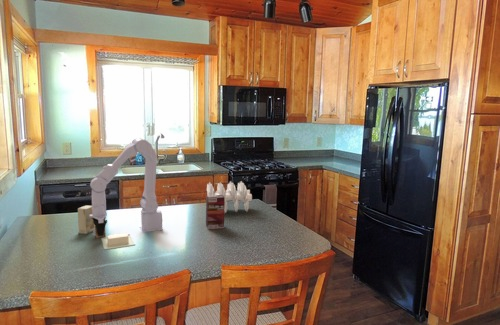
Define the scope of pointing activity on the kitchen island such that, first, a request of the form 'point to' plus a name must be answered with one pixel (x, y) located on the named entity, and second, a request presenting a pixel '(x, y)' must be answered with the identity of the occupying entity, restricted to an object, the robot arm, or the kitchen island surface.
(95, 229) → the walnut brick
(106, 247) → the plate
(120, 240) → the base brick
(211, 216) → the supplement box
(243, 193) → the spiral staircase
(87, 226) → the skincare box
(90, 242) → the kitchen island surface
